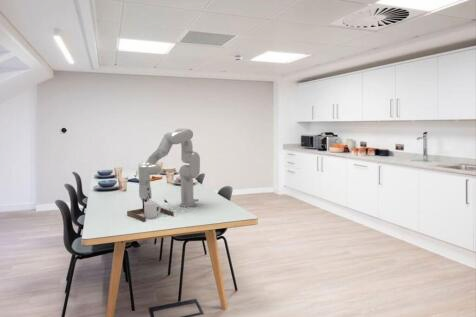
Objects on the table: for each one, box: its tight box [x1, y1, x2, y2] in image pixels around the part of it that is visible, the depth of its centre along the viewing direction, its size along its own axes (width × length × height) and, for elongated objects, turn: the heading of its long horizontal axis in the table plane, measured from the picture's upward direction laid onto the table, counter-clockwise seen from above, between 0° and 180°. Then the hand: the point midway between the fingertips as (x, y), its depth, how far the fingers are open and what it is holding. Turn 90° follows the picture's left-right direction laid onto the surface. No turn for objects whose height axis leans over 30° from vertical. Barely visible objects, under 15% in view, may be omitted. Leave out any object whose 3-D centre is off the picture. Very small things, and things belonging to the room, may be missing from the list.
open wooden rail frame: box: [126, 206, 174, 223], centre depth 254 cm, size 22×24×3 cm
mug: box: [143, 200, 162, 220], centre depth 250 cm, size 12×8×10 cm
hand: (145, 208), depth 258 cm, fingers closed
